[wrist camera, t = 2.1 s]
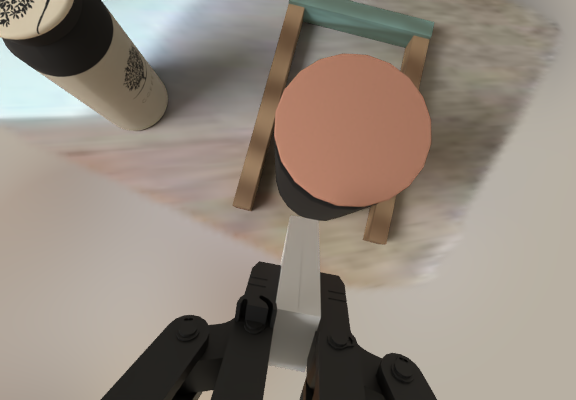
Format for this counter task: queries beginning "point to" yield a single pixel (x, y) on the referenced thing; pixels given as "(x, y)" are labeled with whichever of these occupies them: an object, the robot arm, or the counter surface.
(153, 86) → the travel mug
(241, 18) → the counter surface
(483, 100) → the counter surface
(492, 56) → the counter surface
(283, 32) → the bay
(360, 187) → the coffee jar
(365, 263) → the counter surface
